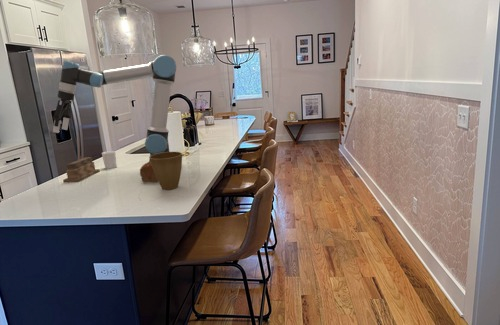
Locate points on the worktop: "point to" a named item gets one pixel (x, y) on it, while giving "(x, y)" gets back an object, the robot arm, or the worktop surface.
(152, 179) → the bread
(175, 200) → the worktop surface
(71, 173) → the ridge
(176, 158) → the plant pot
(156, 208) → the worktop surface
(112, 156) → the white cup
